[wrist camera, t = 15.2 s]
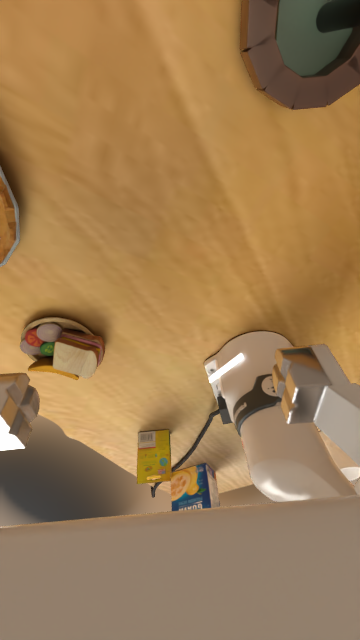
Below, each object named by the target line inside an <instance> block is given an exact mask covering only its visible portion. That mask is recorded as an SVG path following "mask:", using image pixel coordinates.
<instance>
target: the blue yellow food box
mask: <svg viewBox="0 0 360 640" xmlns="http://www.w3.org/2000/svg"><path fill="white" fill-rule="evenodd" d="M171 499H172V511H181V510H193V509H204V508H216V507H220V502H219V495H218V488H217V481H216V474H215V472H214V471H213V470H212V469H211V468H210V467H209V466H208V465H207V464H206V463H204V464H200V465H197V466H193V467H189V468H186V469H182V470H179V471H175V472H173V473H172V477H171Z"/></svg>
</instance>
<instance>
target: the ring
mask: <svg viewBox="0 0 360 640" xmlns="http://www.w3.org/2000/svg"><path fill="white" fill-rule="evenodd" d="M278 1H279V0H243V1H242V4H241V31H240V50H242V49H244V50H243V51H242V52H241V56H242V58H243V61H244V63H245V65H246V68H247V70H248V73H249V75H250V77H251V80H252V82H253V85H254V87H255V88H257V90H258V91H259V92H261V93H262V94H264V95H265V96H267V97H268V98H270V99H271V100H273V101H274V102H276V103H277V104H279V105H280V106H283V107H286V108H289V109H293V110H297V109H308V108H318V107H326V105H330V104H332V103H333V102H335V101H336V100H338V99H339V98H340V97H342V96H343V95H345V94H346V93H348V92H349V91H350V90H352V89H353V88H355V87H356V86H358V85H359V84H360V26H358V27H353V30H352V33H351V35H350V36H349V38H348V40H347V41H346V43H345V45H344V46H343V48H342V49H341V51H340V53H339V54H338V56H337V58H336V59H335V60H333V61H332V62H331V63H329V64H328V65H327V66H325V67H324V68H323V69H321V70H320V71H319V72H317V73H316V74H315V75H307V76H300V75H298V74H297V73H296V72H294V71H293V70H291V69H290V68H289V67H287V66H286V65H284V62H283V59H282V56H281V53H280V50H279V48H278V45H277V42H276V39H275V31H276V20H277V9H278Z"/></svg>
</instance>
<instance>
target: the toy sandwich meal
mask: <svg viewBox="0 0 360 640" xmlns="http://www.w3.org/2000/svg"><path fill="white" fill-rule="evenodd" d="M20 349H21V350H22V351H23V352H24V353H26V354H27V355H28V356H29V357H30V358H31V359H32V360H34V361H35V362H34V363H33V364H31V365H30V366H29V368H28V371H41V372H52V373H57V374H61V375H64V376H67V377H70V378H73V379H75V380H78V379H79V376H81V377H83V378H85V379H89V378H90V377H92V376H93V374H94V373H95V371H96V369H97V367H98V366H99V365H100V364H101V362H102V360H103V357H104V353H105V346H104V342H103V339H102V338H101V337H100V336H93V334H92V333H91V332H90V331H89V330H88V329H87V328H85V327H84V326H82V325H81V324H79V323H77V322H75V321H72V320H69V319H65V318H58V317H48V318H42V319H39V320H36V321H34V322H32V323H30V324H29V325H28V326H27V327H26V328H25V329H24V331H23V333H22V336H21V343H20Z"/></svg>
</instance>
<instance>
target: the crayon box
mask: <svg viewBox="0 0 360 640" xmlns="http://www.w3.org/2000/svg"><path fill="white" fill-rule="evenodd" d="M171 477H172V472H171V449H170V433H169V429H167V430H160V431H150V432H139V433H138V457H137V484H143V483H154V482H164V481H171ZM153 478H160V479H155V480H152V479H153ZM147 479H150V480H147Z"/></svg>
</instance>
